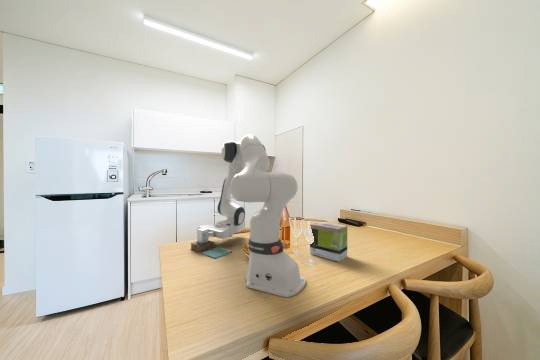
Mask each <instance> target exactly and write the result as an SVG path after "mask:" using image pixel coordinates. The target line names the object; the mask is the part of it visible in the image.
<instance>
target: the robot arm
mask: <svg viewBox="0 0 540 360" xmlns="http://www.w3.org/2000/svg"><path fill="white" fill-rule="evenodd" d="M266 151H267V150H266V147H265V145H264V144H262V142H261V141H260V139H259V138H258V137H257V136H256V135H253V134H247V135H244V136H243V137H241V139H240V140H239V141H234V140H228V141H225V142H224V143H223V145H222V147H221V155H222V159H223V161H224V162H226V163H229V164H228V172H227V176H226V177H225V178H224V180H223V183H222V186H221V188H222V189H221V193H220V198H219V202H218V204H217V212H218V214H219V215H221V216H224V217H226V218H227V219H225V220H220V221H217V222H216V223H215V225H213V224H204V225H203V224H202V225H200V226H198V228H197V229H201V228H206V229H209V233H204V237H208V236H209V237H214V238H218V239H220V240H221V239H222V240H223V239H227V238H233V235H234V234H236V233H239V232H241V231H243V229H244V228H245V227H246V221H245V218H246V217H245V216H246V211H245V208H244V207H243V206H241V205H239V204H237V203H235V202H233V201H232V199H231V196H232V198H233V199H234V200H235V201H237V202H242V203H247V204H248V203H263V206H262V207H261V209H259V211H257V212H255V213H254V214H253V215H252V216H251V218H250V220H249V237H248V238H249V239H248V250H249V254H248V256H249V257H248V263H247V268H246V272H245V275H244V278H245V280H246V284H245V286H246V287H247V288H250V289H253V290H257V291H259V292H260V291H261V292H264V293H269V294H272V295H275V296H280V297H283V298H289V297H292V296H296V294H298V293H301V291H302V290H303V289H304V288H305V286H306V284H307V279H306V276H303V275H301V273H300V268H299V265H298V262H296V261H295V259H293V258H292V257H291V256H290V255H289V254H288V253H287V252H286V250H285V249H284V247H286V244H287V243H286V242H282V240H281V238H280V231H281V230H280V229H281V219H282V214H283V212H284V210H285V208H286V206H287V205H288V204H289V202H290V201H291V200H292V199H293V198H294V197H295V196H296V195H297V192H298V181H297V180H296V178H295V177H294V176H293V175H292V174H289V173H285V172H268V170H269V168H270V164H271V161H270V158H269V156H268V154H267V152H266ZM209 237H208V238H209Z"/></svg>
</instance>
